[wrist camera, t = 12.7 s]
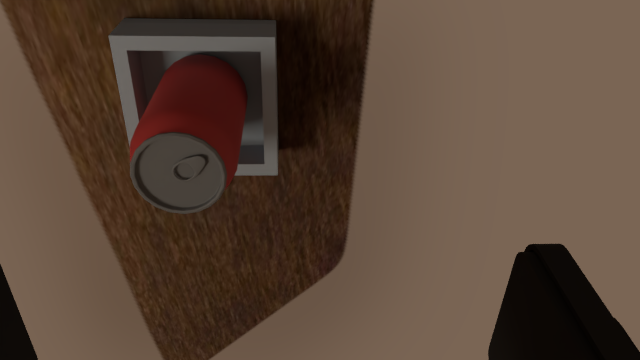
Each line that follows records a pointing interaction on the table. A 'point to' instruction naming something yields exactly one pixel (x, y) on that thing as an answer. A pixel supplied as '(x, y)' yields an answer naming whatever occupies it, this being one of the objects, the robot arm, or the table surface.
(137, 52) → the tray
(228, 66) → the beer can
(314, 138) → the table surface
